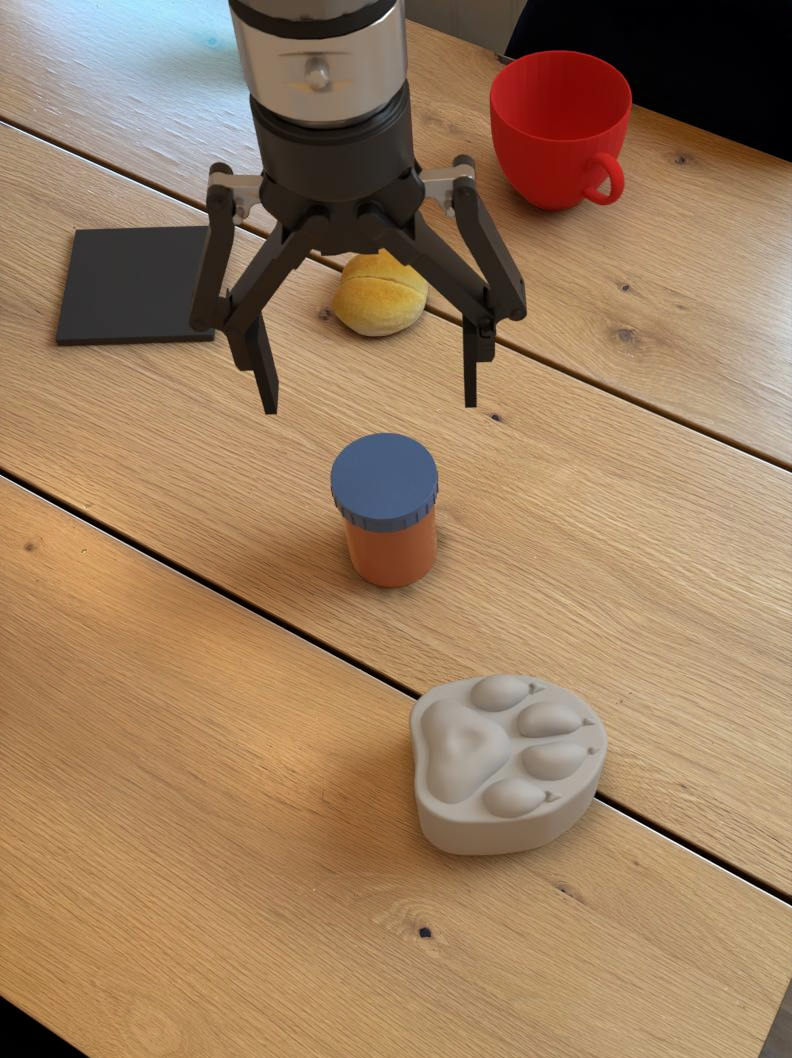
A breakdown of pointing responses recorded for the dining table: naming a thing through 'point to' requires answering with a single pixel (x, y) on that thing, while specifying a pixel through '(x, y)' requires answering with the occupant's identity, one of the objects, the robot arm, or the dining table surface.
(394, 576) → the jam jar
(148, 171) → the dining table surface
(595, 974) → the dining table surface
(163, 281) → the mat
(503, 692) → the grey paw print block
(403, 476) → the jar lid
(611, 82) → the ceramic cup
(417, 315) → the bread roll
